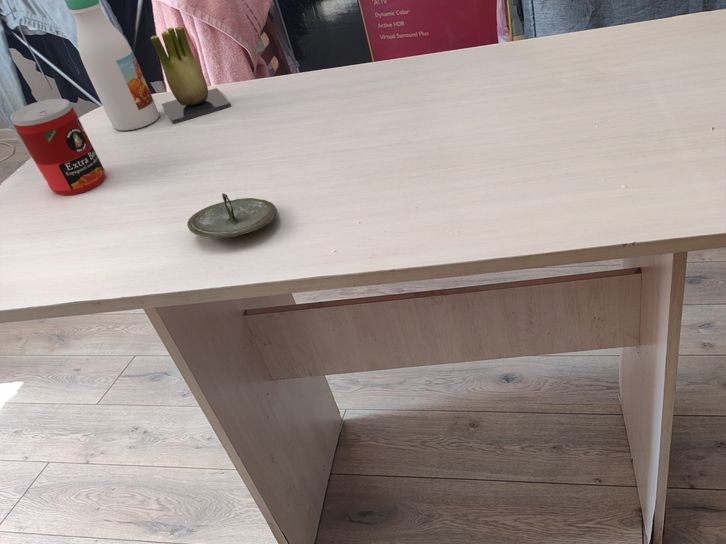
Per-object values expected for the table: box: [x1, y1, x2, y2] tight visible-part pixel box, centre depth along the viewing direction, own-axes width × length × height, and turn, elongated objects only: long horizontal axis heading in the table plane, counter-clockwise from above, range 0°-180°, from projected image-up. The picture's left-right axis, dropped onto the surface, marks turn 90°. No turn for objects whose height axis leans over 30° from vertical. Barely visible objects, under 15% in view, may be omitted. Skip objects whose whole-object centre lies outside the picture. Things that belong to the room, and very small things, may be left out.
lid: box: [186, 193, 278, 239], centre depth 81 cm, size 11×10×5 cm
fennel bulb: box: [150, 26, 209, 105], centre depth 113 cm, size 6×5×12 cm
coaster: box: [161, 87, 232, 125], centre depth 117 cm, size 10×10×1 cm
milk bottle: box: [64, 0, 160, 131], centre depth 108 cm, size 8×8×20 cm
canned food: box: [9, 98, 106, 196], centre depth 94 cm, size 8×8×11 cm
